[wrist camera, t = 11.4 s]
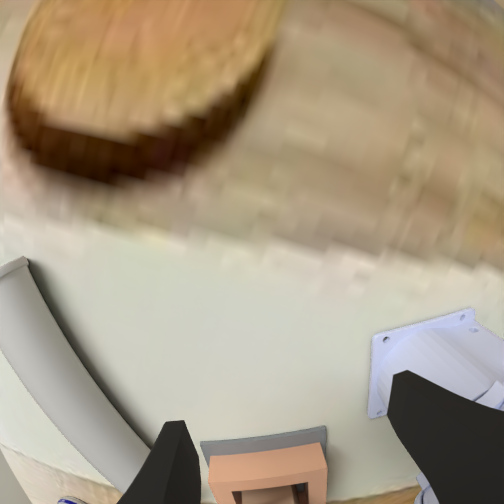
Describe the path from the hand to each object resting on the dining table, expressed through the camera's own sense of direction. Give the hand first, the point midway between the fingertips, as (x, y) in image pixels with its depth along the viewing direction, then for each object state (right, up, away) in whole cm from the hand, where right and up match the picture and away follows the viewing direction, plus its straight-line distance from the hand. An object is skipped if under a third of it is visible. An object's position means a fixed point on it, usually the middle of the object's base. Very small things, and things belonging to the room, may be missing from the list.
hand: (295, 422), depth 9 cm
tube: (-14, -6, +12) cm, 19 cm away
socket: (0, -15, +14) cm, 20 cm away
